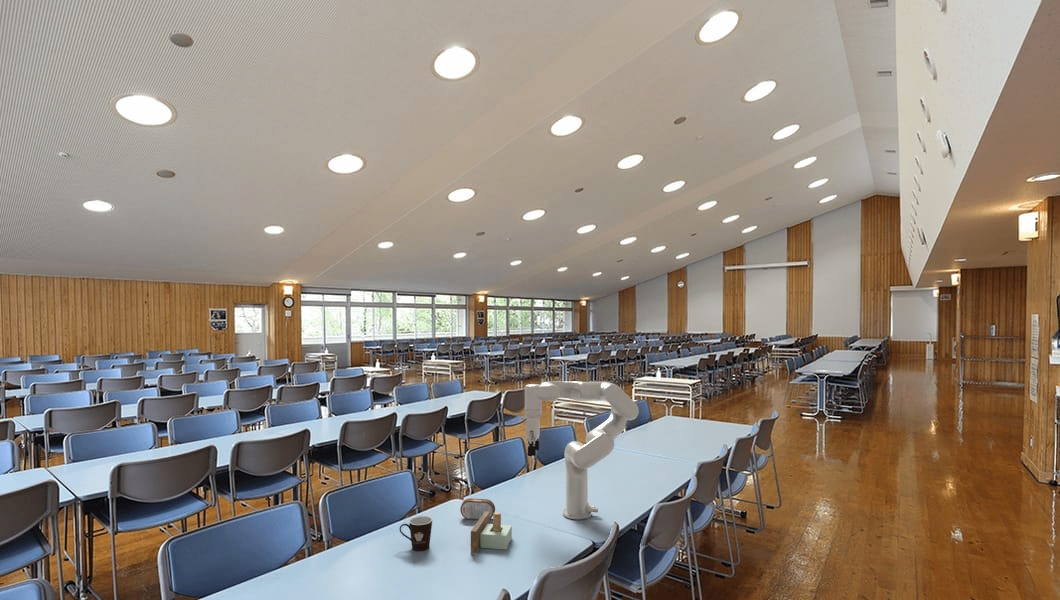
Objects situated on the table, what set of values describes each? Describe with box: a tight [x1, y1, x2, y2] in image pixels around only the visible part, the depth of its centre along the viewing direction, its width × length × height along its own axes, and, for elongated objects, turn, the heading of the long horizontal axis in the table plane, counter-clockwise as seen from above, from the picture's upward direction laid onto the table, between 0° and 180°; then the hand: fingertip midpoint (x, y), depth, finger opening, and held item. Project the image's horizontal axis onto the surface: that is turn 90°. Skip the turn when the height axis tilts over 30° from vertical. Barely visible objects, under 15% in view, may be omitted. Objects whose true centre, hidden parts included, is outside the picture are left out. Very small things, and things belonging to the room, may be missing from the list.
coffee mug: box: [399, 515, 433, 552], centre depth 192 cm, size 12×9×10 cm
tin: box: [459, 498, 496, 521], centre depth 219 cm, size 15×3×8 cm, turn 84°
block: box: [479, 523, 513, 550], centre depth 195 cm, size 10×10×5 cm
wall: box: [470, 511, 491, 555], centre depth 196 cm, size 2×20×8 cm, turn 170°
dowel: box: [492, 511, 502, 532], centre depth 195 cm, size 3×3×10 cm
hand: (533, 452), depth 220 cm, fingers open, 9 cm apart
